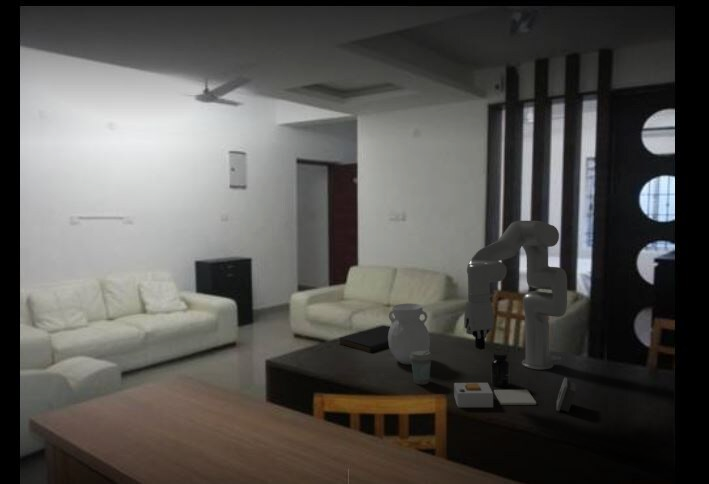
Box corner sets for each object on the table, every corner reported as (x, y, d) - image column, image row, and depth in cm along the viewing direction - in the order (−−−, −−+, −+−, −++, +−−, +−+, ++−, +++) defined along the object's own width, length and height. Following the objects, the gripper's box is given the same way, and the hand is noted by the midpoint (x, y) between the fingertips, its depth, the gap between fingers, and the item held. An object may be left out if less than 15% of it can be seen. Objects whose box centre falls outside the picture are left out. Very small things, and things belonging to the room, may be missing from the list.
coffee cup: (418, 387, 195) (418, 356, 194) (406, 380, 202) (405, 351, 202) (436, 383, 199) (436, 353, 198) (424, 376, 206) (423, 348, 205)
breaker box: (487, 396, 184) (487, 381, 184) (493, 407, 174) (492, 391, 174) (454, 396, 185) (454, 381, 184) (457, 407, 175) (457, 392, 175)
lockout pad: (527, 391, 187) (527, 389, 187) (536, 404, 175) (536, 402, 175) (494, 391, 188) (493, 389, 188) (500, 404, 176) (500, 402, 176)
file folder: (383, 325, 281) (417, 332, 263) (383, 332, 281) (417, 340, 264) (338, 337, 259) (371, 346, 241) (338, 345, 259) (372, 355, 241)
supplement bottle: (510, 387, 191) (510, 356, 190) (491, 387, 193) (491, 356, 192) (508, 381, 198) (508, 351, 197) (490, 380, 199) (490, 350, 198)
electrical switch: (556, 401, 177) (559, 375, 176) (572, 404, 175) (575, 378, 174) (556, 412, 169) (559, 385, 168) (573, 415, 167) (575, 388, 166)
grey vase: (382, 366, 222) (381, 309, 220) (395, 353, 239) (394, 301, 237) (424, 369, 215) (423, 311, 213) (434, 357, 232) (433, 303, 230)
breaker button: (477, 395, 181) (477, 383, 181) (479, 399, 177) (479, 387, 177) (466, 395, 181) (466, 383, 181) (468, 399, 178) (467, 387, 177)
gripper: (490, 294, 187) (491, 342, 189) (455, 298, 182) (456, 348, 183) (503, 297, 180) (503, 348, 182) (467, 302, 175) (468, 354, 176)
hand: (480, 348), depth 182 cm, fingers closed
